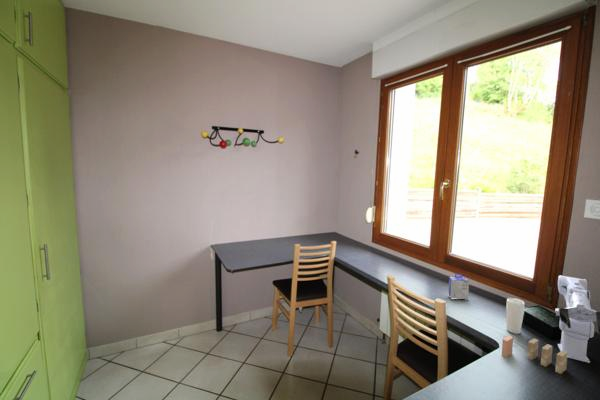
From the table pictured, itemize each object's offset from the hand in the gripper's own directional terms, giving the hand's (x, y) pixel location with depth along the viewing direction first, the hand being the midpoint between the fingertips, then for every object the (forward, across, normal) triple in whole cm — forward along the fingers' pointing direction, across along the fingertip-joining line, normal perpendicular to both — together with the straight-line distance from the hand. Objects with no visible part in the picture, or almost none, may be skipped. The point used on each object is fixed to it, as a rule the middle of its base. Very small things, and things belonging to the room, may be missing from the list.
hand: (584, 327), depth 99 cm
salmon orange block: (0, -24, +18) cm, 30 cm away
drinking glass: (-23, -24, +21) cm, 39 cm away
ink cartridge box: (-46, -52, +20) cm, 72 cm away
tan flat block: (-3, -12, +20) cm, 24 cm away
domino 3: (-1, -8, +20) cm, 22 cm away
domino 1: (-4, -16, +20) cm, 26 cm away
